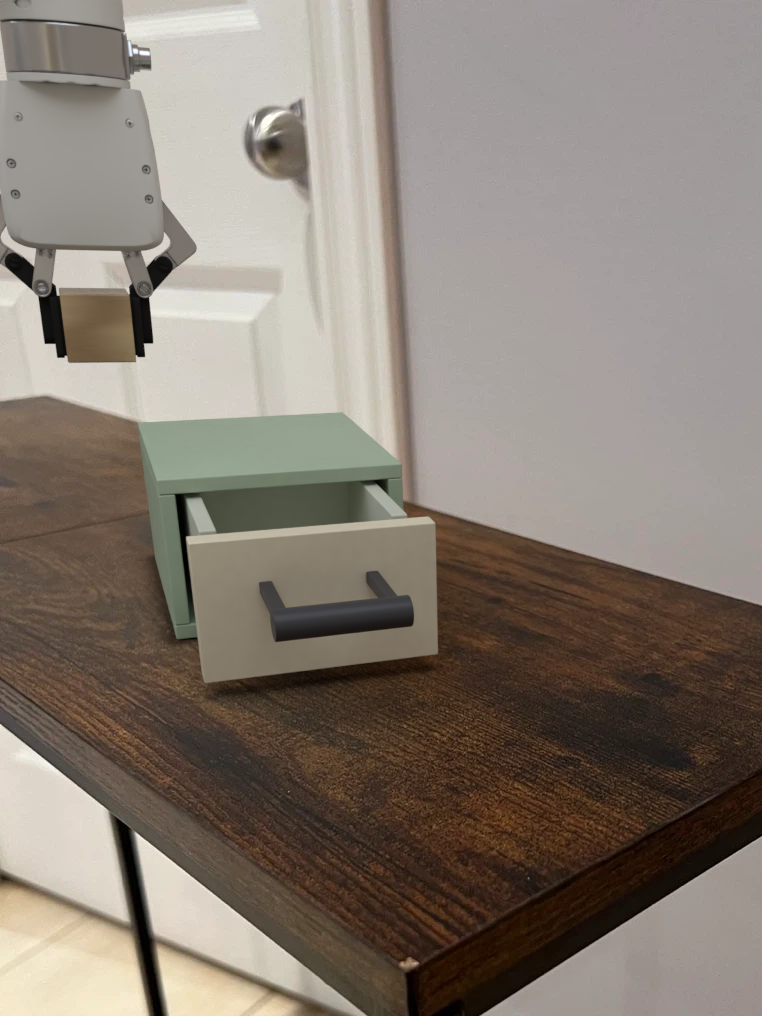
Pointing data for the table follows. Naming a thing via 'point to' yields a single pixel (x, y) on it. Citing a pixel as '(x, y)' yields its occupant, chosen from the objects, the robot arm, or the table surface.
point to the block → (97, 325)
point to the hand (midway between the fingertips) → (100, 352)
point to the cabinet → (246, 475)
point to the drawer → (307, 578)
